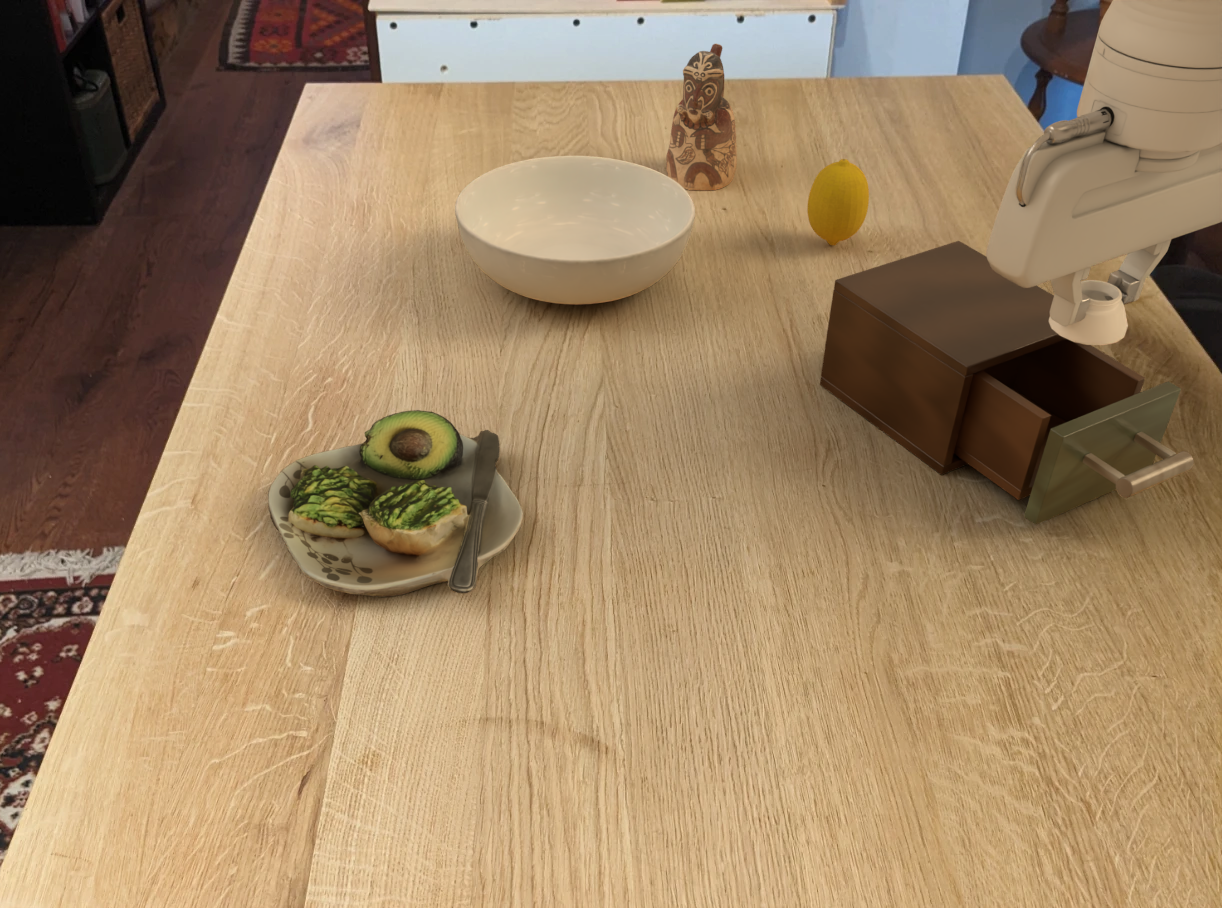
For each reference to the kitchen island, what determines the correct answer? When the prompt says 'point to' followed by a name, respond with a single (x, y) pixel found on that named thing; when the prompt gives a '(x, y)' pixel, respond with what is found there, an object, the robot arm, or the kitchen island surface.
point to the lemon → (838, 201)
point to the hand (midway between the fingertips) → (1093, 310)
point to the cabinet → (927, 342)
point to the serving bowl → (575, 227)
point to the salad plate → (397, 508)
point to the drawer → (1067, 429)
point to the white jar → (1097, 316)
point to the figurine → (703, 127)
